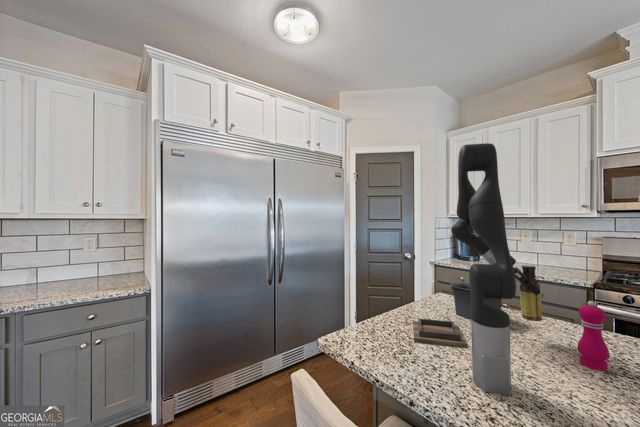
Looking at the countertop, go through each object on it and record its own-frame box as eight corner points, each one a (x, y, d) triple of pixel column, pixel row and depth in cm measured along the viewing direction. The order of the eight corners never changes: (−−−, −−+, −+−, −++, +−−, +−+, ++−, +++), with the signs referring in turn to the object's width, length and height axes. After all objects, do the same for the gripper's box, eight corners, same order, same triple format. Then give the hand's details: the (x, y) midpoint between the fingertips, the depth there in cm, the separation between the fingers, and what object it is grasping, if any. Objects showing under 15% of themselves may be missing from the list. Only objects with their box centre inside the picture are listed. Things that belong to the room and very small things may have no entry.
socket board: (467, 348, 99) (467, 338, 99) (414, 341, 105) (413, 332, 105) (458, 328, 116) (458, 320, 116) (413, 324, 122) (413, 316, 122)
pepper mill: (599, 373, 82) (597, 305, 83) (571, 361, 89) (570, 298, 90) (616, 369, 84) (614, 303, 85) (587, 358, 91) (585, 296, 92)
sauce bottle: (534, 316, 106) (533, 264, 107) (546, 322, 100) (545, 266, 101) (516, 316, 107) (515, 264, 108) (527, 321, 101) (525, 266, 101)
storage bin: (447, 313, 135) (446, 284, 135) (467, 308, 142) (466, 280, 143) (491, 328, 116) (490, 294, 116) (512, 321, 124) (511, 289, 124)
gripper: (509, 253, 101) (551, 289, 96) (502, 249, 114) (538, 281, 109) (493, 267, 103) (533, 303, 98) (487, 261, 116) (522, 293, 111)
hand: (536, 291), depth 103 cm, fingers closed on sauce bottle, 6 cm apart
